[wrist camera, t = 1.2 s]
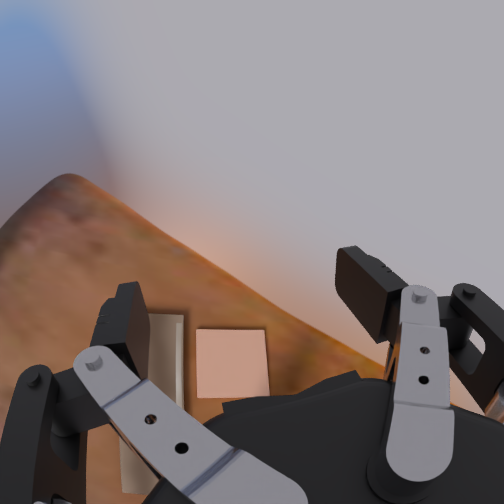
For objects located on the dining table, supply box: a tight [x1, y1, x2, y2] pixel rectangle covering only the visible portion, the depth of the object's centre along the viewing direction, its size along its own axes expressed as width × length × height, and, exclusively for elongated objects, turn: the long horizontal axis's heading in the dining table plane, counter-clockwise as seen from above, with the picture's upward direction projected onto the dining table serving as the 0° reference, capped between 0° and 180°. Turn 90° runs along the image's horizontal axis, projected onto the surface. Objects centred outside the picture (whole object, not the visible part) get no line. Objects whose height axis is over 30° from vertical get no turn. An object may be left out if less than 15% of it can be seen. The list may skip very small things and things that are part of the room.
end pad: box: [196, 329, 270, 398], centre depth 34 cm, size 8×8×1 cm
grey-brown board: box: [119, 313, 184, 495], centre depth 29 cm, size 7×21×1 cm, turn 4°
